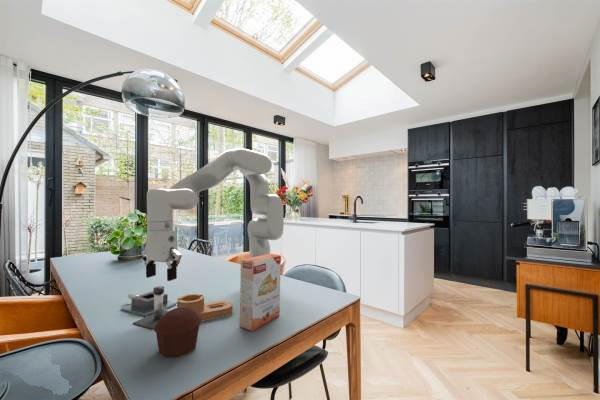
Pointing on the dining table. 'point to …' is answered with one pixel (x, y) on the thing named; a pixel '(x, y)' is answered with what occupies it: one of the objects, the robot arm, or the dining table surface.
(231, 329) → the dining table surface
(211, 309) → the bracket
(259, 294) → the cracker box
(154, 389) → the dining table surface
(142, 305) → the chuck block
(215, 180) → the robot arm
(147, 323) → the rubber mat
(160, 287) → the small bottle
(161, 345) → the muffin
